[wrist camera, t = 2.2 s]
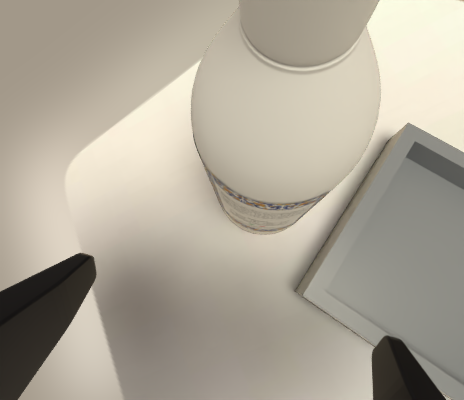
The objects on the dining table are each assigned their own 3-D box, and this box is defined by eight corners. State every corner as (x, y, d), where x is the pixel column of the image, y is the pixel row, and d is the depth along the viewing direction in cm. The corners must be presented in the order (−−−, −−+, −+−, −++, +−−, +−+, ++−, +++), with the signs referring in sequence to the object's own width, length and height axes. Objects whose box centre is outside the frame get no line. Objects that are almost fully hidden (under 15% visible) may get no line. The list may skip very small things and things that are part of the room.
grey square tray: (481, 420, 19) (524, 448, 16) (294, 291, 21) (302, 295, 18) (565, 239, 21) (617, 235, 18) (388, 140, 23) (408, 122, 20)
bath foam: (258, 133, 24) (310, -437, 5) (326, 187, 23) (800, -282, 3) (200, 194, 23) (-46, -189, 4) (267, 254, 22) (441, 159, 2)
